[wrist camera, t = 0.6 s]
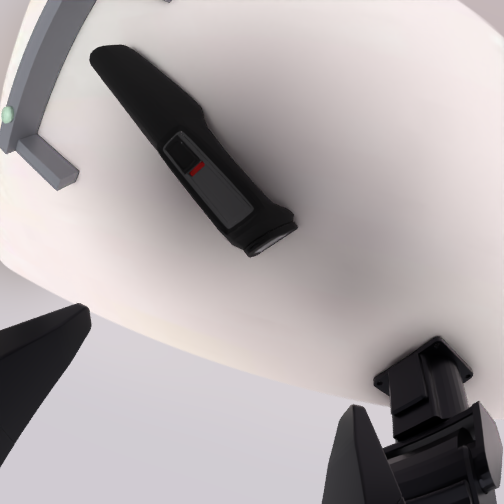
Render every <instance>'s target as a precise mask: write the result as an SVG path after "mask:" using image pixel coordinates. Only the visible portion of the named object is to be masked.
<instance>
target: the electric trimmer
mask: <svg viewBox="0 0 504 504" xmlns="http://www.w3.org/2000/svg"><path fill="white" fill-rule="evenodd" d="M89 61H90V64H91V66H92V67H93V68H94V70H95V71H96V72H97V73H98V75H99V76H100V77H101V79H102V80H103V81H104V83H105V84H106V85H107V86H108V88H109V89H110V90H111V92H112V93H113V94H114V96H115V97H116V98H117V99H118V101H119V102H120V103H121V105H122V106H123V107H124V109H125V110H126V111H127V113H128V114H129V115H130V116H131V118H132V119H133V120H134V122H135V123H136V124H137V126H138V127H139V128H140V130H141V131H142V132H143V134H144V135H145V136H146V137H147V139H148V140H149V141H150V143H151V144H152V145H153V146H154V147H155V148H156V150H157V151H158V152H159V154H160V156H161V157H162V158H163V160H164V161H165V163H166V164H167V165H168V167H169V168H170V169H171V171H172V172H173V173H174V175H175V176H176V177H177V178H178V180H179V181H180V182H181V183H182V185H183V186H184V187H185V189H186V190H187V191H188V192H189V194H190V195H191V196H192V197H193V199H194V200H195V201H196V202H197V204H198V205H199V206H200V207H201V209H202V210H203V211H204V212H205V214H206V215H207V216H208V217H209V219H210V220H211V221H212V222H213V224H214V225H215V226H216V227H217V229H218V230H219V231H220V232H221V233H222V234H223V235H224V236H225V237H226V238H227V240H228V241H229V242H230V243H231V244H232V245H234V246H236V247H238V248H240V249H242V250H244V252H245V253H246V254H247V256H248V257H254V256H256V255H258V254H260V253H261V252H263V251H264V250H266V249H267V248H269V247H270V246H272V245H273V244H275V243H276V242H278V241H279V240H281V239H282V238H284V237H286V236H287V235H289V234H290V233H292V232H293V231H295V230H296V229H297V228H298V227H297V225H296V224H295V222H292V221H293V217H294V214H293V213H292V212H291V211H290V210H288V209H286V208H284V207H281V206H279V205H277V204H274V203H273V202H271V201H270V200H269V199H268V198H267V197H266V196H265V195H264V194H263V193H262V192H261V190H260V189H259V188H258V187H257V186H256V185H255V184H254V183H253V182H252V181H251V179H250V178H249V177H248V176H247V175H246V174H245V173H244V172H243V170H242V169H241V168H240V167H239V166H238V165H237V164H236V163H235V161H234V160H233V159H232V158H231V157H230V156H229V155H228V153H227V152H226V151H225V150H224V149H223V147H222V146H221V145H220V143H219V142H218V141H217V139H216V138H215V137H214V135H213V134H212V133H211V131H210V130H209V129H208V128H207V125H206V123H205V120H204V117H203V112H202V109H201V107H200V106H199V105H198V104H197V103H196V102H195V101H194V100H193V99H192V98H191V97H190V96H189V95H188V94H187V93H185V92H184V91H183V90H182V89H181V88H180V87H178V86H177V85H176V84H175V83H174V82H172V81H171V80H170V79H169V78H168V77H166V76H165V75H164V74H163V73H162V72H160V71H159V70H158V69H157V68H155V67H154V66H153V65H152V64H151V63H149V62H148V61H147V60H146V59H144V58H143V57H142V56H141V55H139V54H138V53H137V52H135V51H134V50H132V49H131V48H129V47H127V46H125V45H107V46H101V47H98V48H96V49H95V50H93V51H92V53H91V54H90V59H89ZM181 131H182V132H181ZM268 232H269V233H268ZM254 241H255V242H254ZM250 244H251V245H250Z"/></svg>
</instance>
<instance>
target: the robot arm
mask: <svg viewBox="0 0 504 504" xmlns="http://www.w3.org/2000/svg"><path fill="white" fill-rule="evenodd" d="M90 329H91V318H90V311H89V308H88V307H87V306H85V305H83V304H81V303H77V304H74V305H71V306H68V307H65V308H62V309H59V310H56V311H54V312H51V313H48V314H45V315H42V316H39V317H37V318H34V319H31V320H28V321H26V322H22V323H20V324H17V325H14V326H11V327H9V328H5V329H3V330H0V467H1V465H2V464H3V462H4V460H5V459H6V457H7V455H8V454H9V452H10V451H11V449H12V448H13V446H14V444H15V443H16V441H17V439H18V438H19V436H20V435H21V433H22V432H23V430H24V429H25V427H26V426H27V424H28V423H29V421H30V420H31V418H32V417H33V415H34V414H35V412H36V411H37V409H38V408H39V406H40V405H41V404H42V402H43V401H44V399H45V398H46V396H47V395H48V394H49V392H50V391H51V389H52V388H53V386H54V385H55V384H56V382H57V381H58V379H59V378H60V377H61V376H62V374H63V373H64V371H65V370H66V369H67V367H68V366H69V365H70V363H71V361H72V360H73V358H74V357H75V355H76V353H77V352H78V350H79V348H80V346H81V345H82V343H83V341H84V339H85V338H86V336H87V335H88V333H89V331H90ZM437 343H438V344H437ZM435 344H436V345H435ZM472 376H473V372H472V369H471V368H470V367H469V366H468V365H467V364H466V363H465V362H464V361H463V360H462V359H461V358H460V357H459V356H458V355H457V353H456V352H455V351H454V350H453V349H452V348H451V347H450V346H449V345H448V344H447V343H446V342H445V341H444V340H443V339H442V338H440V337H435V338H433V339H432V340H431V341H429V342H428V343H426V344H425V345H424V346H422V347H421V348H419V349H418V350H416V351H415V352H414V353H412V354H411V355H409V356H408V357H406V358H405V359H403V360H402V361H400V362H399V363H397V364H396V365H394V366H392V367H391V368H389V369H388V370H386V371H385V372H383V373H381V374H380V375H378V376H376V377H375V378H374V380H373V383H374V386H375V387H376V388H378V389H379V390H381V391H382V392H384V393H385V394H387V395H388V396H390V406H391V414H392V420H393V438H394V439H395V440H396V443H395V444H392V445H390V446H387V447H385V448H382V446H381V444H380V441H379V439H378V437H377V435H376V433H375V430H374V428H373V426H372V423H371V421H370V419H369V416H368V414H367V412H366V410H365V408H364V407H363V406H359V405H354V404H353V405H351V406H350V407H349V408H348V409H347V411H346V412H345V413H344V414H343V416H342V417H341V419H340V421H339V424H338V428H337V432H336V436H335V440H334V444H333V448H332V452H331V456H330V459H329V463H328V469H327V475H326V481H325V488H324V493H323V499H322V504H497V502H496V495H495V489H496V488H499V486H500V480H501V468H502V453H503V447H502V443H501V439H500V436H499V433H498V430H497V426H496V423H495V422H494V420H493V419H492V417H491V416H490V415H489V413H488V412H487V411H486V409H485V408H484V407H483V405H482V404H481V403H480V401H478V402H476V403H474V404H472V406H471V407H470V408H469V405H468V401H467V397H466V393H465V389H464V386H463V383H465V382H466V381H468V380H469V379H471V378H472ZM379 381H380V382H379Z"/></svg>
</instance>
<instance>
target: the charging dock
mask: <svg viewBox="0 0 504 504" xmlns="http://www.w3.org/2000/svg"><path fill="white" fill-rule="evenodd" d="M95 1H96V0H48V1H47V3H46V5H45V7H44V9H43V11H42V13H41V15H40V17H39V19H38V21H37V23H36V26H35V28H34V30H33V32H32V35H31V37H30V39H29V42H28V44H27V46H26V49H25V51H24V54H23V57H22V59H21V62H20V65H19V67H18V70H17V73H16V76H15V79H14V82H13V85H12V88H11V92H10V95H9V98H8V102H7V105H6V107H4V108H3V110H2V124H1V129H0V148H1V149H2V150H3V151H4V153H5V154H8V153H11V152H13V151H16V152H17V153H18V154H19V155H20V156H21V157H22V158H23V159H24V160H25V161H26V162H27V163H28V164H29V165H30V166H32V167H33V168H34V169H35V170H36V171H37V172H38V173H39V174H40V175H41V176H42V177H43V178H44V179H45V180H46V181H47V182H48V183H49V184H50V185H51V186H52V187H53V188H54V189H56V190H57V191H58V190H60V189H62V188H64V187H66V186H68V185H70V184H72V183H74V182H75V181H76V178H77V176H78V173H79V171H78V170H77V169H76V168H75V167H74V166H73V165H71V164H70V163H69V162H68V161H67V160H66V159H65V158H63V157H62V156H61V155H60V154H59V153H58V152H57V151H56V150H54V149H53V148H52V147H51V146H50V145H49V144H48V143H47V142H45V141H44V140H43V139H42V138H41V137H40V136H39V135H38V134H37V132H38V129H39V126H40V122H41V119H42V116H43V114H44V111H45V108H46V105H47V102H48V100H49V97H50V94H51V92H52V89H53V87H54V84H55V82H56V79H57V77H58V74H59V72H60V70H61V67H62V65H63V63H64V61H65V59H66V56H67V54H68V52H69V50H70V48H71V46H72V44H73V42H74V40H75V38H76V36H77V34H78V32H79V30H80V28H81V26H82V24H83V22H84V21H85V19H86V17H87V15H88V13H89V12H90V10H91V8H92V6H93V5H94V3H95ZM164 1H166V2H169V3H170V1H171V0H164Z"/></svg>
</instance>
